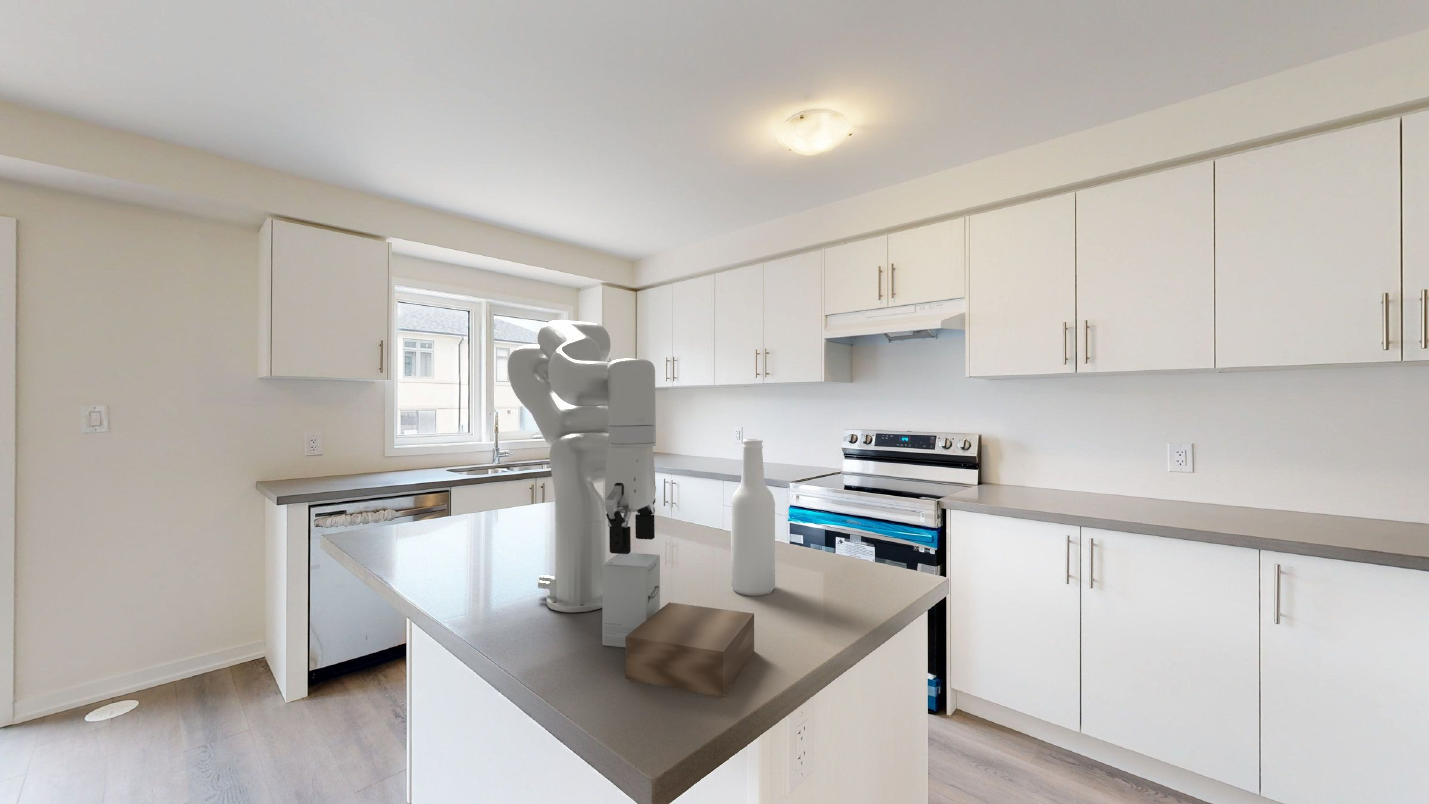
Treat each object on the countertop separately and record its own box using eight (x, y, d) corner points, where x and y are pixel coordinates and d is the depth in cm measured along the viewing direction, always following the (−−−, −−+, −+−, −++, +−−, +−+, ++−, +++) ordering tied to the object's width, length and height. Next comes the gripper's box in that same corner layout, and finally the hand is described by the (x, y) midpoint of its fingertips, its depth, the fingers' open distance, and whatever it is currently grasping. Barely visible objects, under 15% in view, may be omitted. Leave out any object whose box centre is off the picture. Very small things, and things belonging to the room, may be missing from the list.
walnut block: (625, 681, 75) (625, 636, 75) (669, 640, 88) (669, 602, 89) (723, 699, 70) (723, 651, 71) (754, 653, 84) (754, 613, 84)
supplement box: (647, 650, 84) (646, 566, 84) (600, 646, 86) (600, 563, 86) (661, 631, 91) (661, 553, 91) (618, 627, 93) (618, 551, 93)
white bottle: (746, 579, 118) (745, 437, 118) (783, 587, 113) (782, 439, 113) (722, 591, 111) (722, 439, 111) (761, 599, 106) (760, 441, 106)
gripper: (632, 435, 98) (633, 533, 97) (584, 439, 81) (585, 558, 81) (672, 435, 96) (673, 535, 96) (632, 439, 79) (633, 561, 79)
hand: (633, 545), depth 88 cm, fingers open, 9 cm apart
